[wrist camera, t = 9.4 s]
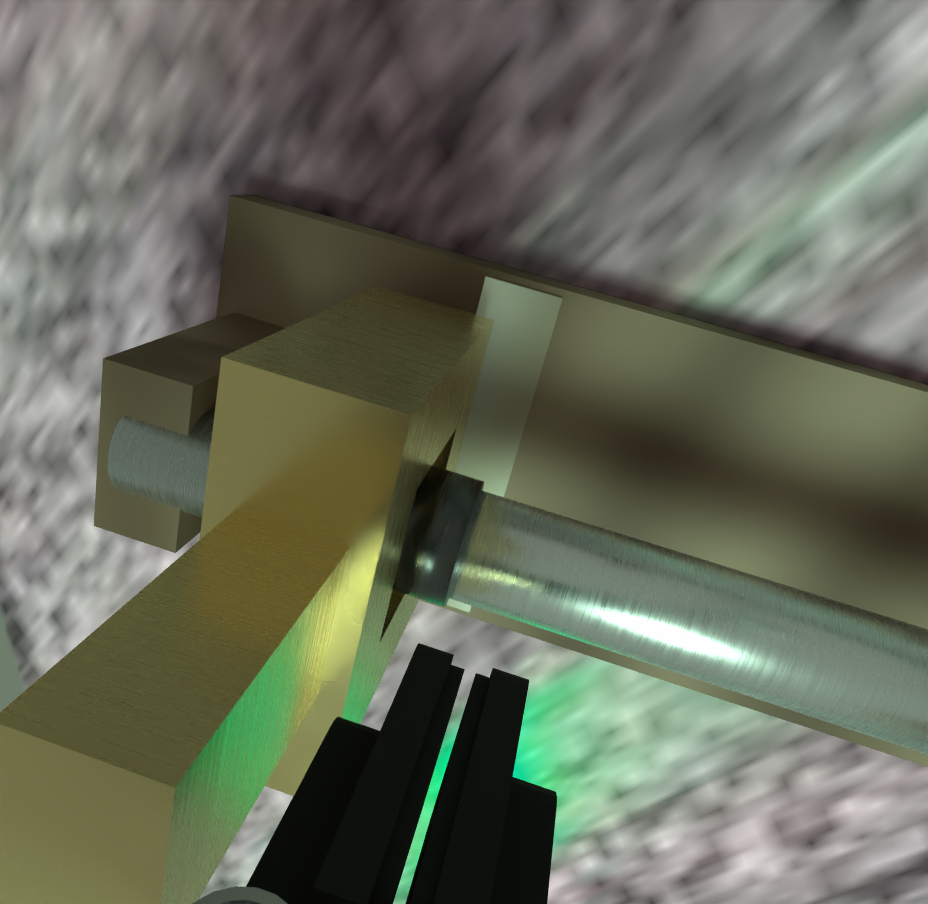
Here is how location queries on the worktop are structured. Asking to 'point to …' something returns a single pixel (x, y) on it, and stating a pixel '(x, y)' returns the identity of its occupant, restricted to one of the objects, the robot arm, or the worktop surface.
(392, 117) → the worktop surface
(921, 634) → the pipe
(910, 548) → the pipe stand
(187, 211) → the worktop surface
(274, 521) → the collar
